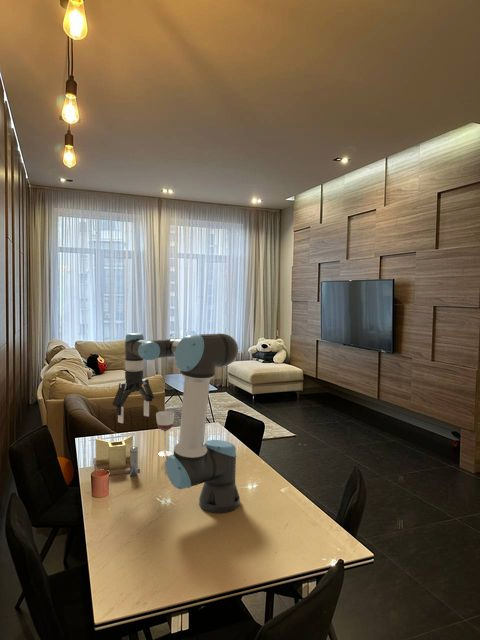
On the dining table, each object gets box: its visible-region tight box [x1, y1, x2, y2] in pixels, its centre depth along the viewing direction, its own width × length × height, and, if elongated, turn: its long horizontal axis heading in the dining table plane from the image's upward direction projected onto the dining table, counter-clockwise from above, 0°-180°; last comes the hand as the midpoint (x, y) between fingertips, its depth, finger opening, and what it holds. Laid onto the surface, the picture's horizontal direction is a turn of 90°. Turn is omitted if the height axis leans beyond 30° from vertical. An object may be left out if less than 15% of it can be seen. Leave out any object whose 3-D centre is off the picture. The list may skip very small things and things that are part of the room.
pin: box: [129, 445, 139, 478], centre depth 190 cm, size 3×3×12 cm
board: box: [93, 457, 141, 476], centre depth 200 cm, size 20×18×1 cm
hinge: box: [95, 434, 134, 469], centre depth 200 cm, size 13×17×10 cm
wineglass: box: [155, 410, 175, 457], centre depth 216 cm, size 8×9×20 cm
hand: (133, 419), depth 189 cm, fingers open, 13 cm apart
